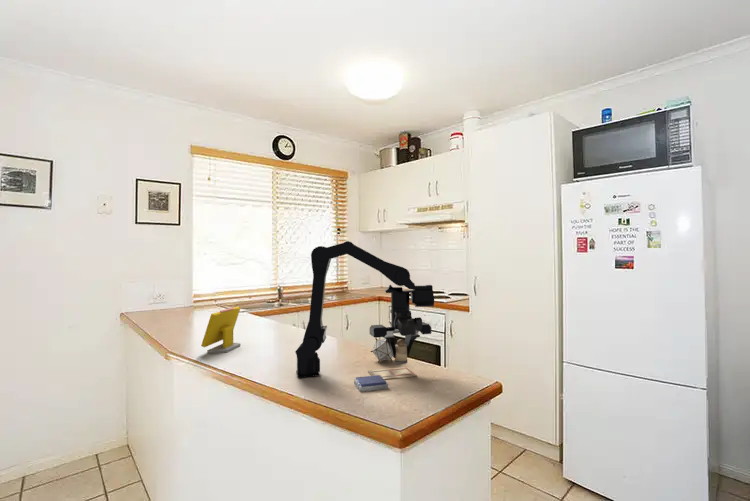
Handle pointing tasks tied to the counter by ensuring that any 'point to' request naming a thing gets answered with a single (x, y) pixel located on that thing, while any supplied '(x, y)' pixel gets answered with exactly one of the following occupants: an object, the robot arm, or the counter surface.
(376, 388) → the ink pad
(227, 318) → the toy computer monitor
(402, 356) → the stamp
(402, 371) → the card sheet
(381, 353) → the game die
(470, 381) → the counter surface
